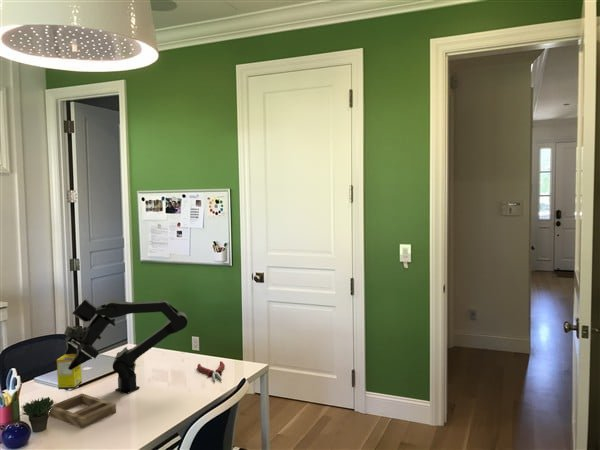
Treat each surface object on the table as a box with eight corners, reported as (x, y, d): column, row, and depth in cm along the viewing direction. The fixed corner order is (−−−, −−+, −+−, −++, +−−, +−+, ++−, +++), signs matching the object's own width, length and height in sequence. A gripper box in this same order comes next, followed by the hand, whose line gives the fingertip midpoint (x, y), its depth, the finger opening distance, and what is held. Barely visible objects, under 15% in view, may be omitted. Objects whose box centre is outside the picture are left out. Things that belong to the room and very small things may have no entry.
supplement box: (82, 382, 176) (80, 353, 176) (74, 389, 170) (73, 359, 170) (65, 383, 176) (64, 353, 175) (57, 389, 170) (56, 359, 170)
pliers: (203, 385, 189) (203, 379, 189) (196, 368, 208) (196, 362, 208) (232, 382, 193) (232, 375, 193) (222, 365, 212) (222, 360, 212)
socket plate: (116, 412, 164) (115, 404, 164) (82, 428, 153) (81, 419, 153) (82, 401, 173) (82, 393, 173) (47, 415, 162) (47, 406, 162)
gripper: (69, 313, 181) (39, 348, 174) (87, 322, 168) (55, 361, 161) (92, 329, 187) (63, 364, 180) (111, 339, 174) (81, 377, 167)
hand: (65, 366), depth 172 cm, fingers closed on supplement box, 8 cm apart
